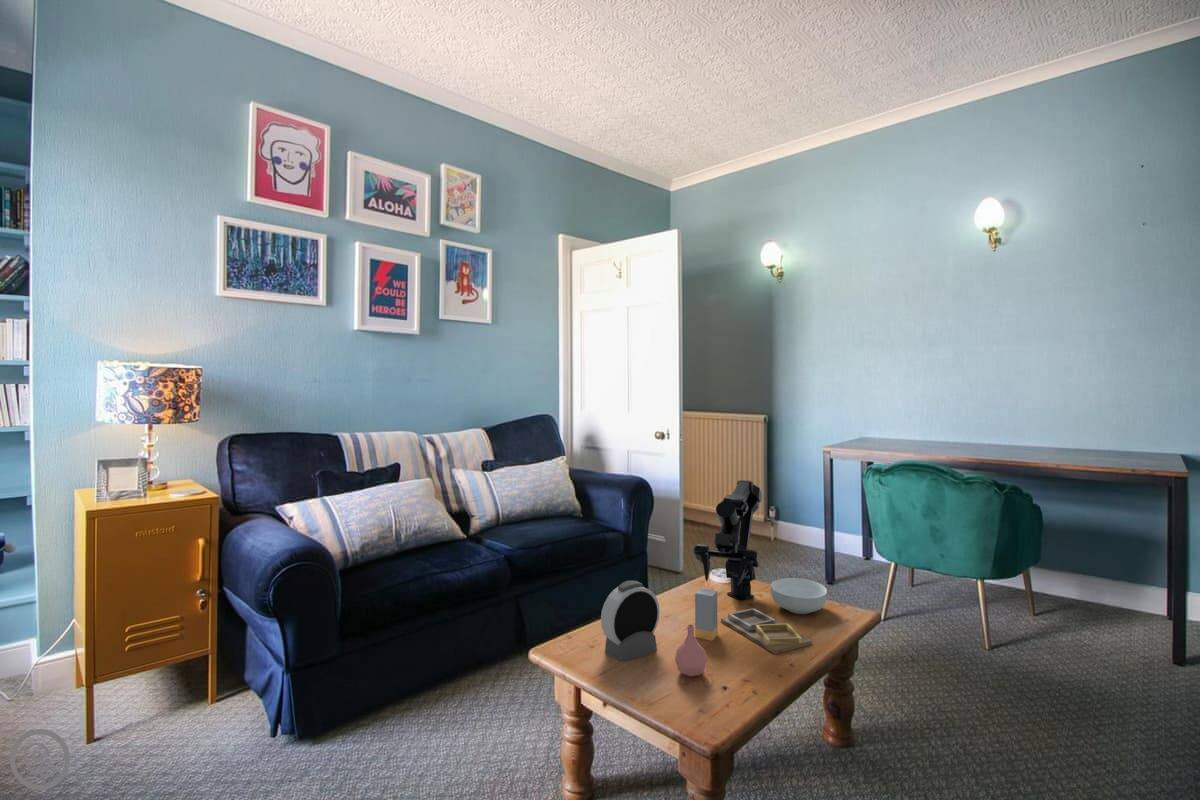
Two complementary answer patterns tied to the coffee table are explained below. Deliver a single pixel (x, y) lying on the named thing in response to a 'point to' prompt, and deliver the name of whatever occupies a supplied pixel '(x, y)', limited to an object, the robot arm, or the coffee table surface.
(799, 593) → the cereal bowl
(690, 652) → the pink vase
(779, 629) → the station board
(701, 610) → the grey square pillar
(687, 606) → the coffee table surface
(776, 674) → the coffee table surface
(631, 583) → the alarm clock
